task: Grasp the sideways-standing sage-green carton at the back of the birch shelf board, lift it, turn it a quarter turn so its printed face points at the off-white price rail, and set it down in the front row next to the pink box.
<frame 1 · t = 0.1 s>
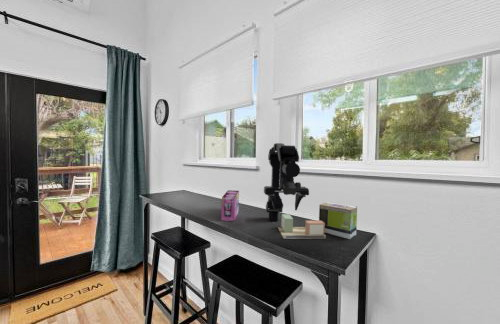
hand: (285, 210, 96), 15 cm above the table, fingers open, 9 cm apart
tea box: (336, 235, 108), on the table
gum box: (230, 215, 136), on the table
pink box: (314, 235, 102), point 1 cm above the table, touching shelf board
sage carton: (286, 229, 109), point 1 cm above the table, touching shelf board
shelf board: (299, 235, 106), on the table
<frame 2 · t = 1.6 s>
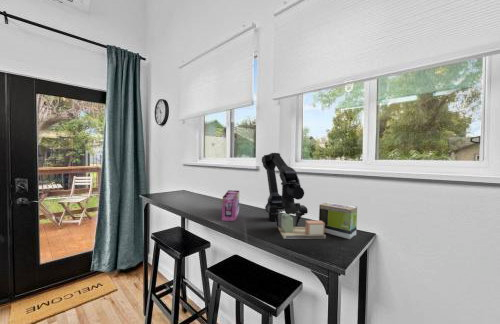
hand: (286, 226, 109), 3 cm above the table, fingers open, 9 cm apart
nothing on the table moved.
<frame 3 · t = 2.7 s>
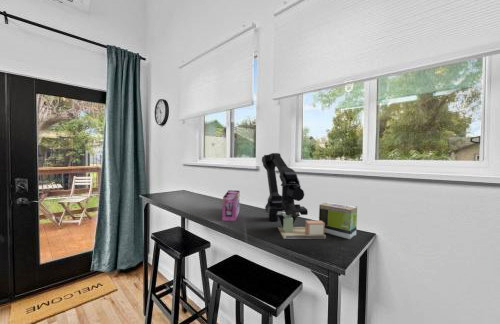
hand: (286, 227, 109), 2 cm above the table, fingers closed on sage carton, 4 cm apart
sage carton: (286, 229, 109), point 1 cm above the table, touching gripper, shelf board
everything else where it was.
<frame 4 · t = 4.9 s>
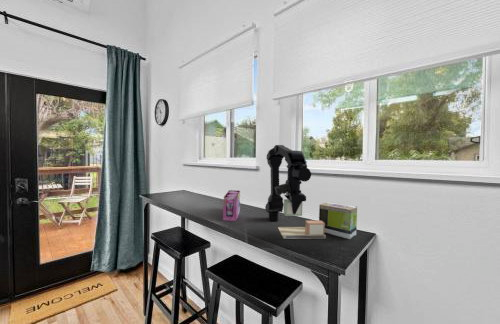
hand: (292, 212, 101), 12 cm above the table, fingers closed on sage carton, 4 cm apart
sage carton: (292, 214, 101), point 11 cm above the table, touching gripper
everything else where it was.
when the fingers open (4 cm above the table, at t = 7.1 s): sage carton drops 1 cm, resting on shelf board.
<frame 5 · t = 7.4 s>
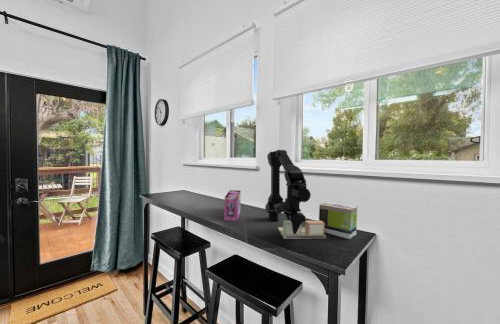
hand: (292, 230, 101), 4 cm above the table, fingers open, 7 cm apart
sage carton: (291, 235, 101), point 1 cm above the table, touching shelf board
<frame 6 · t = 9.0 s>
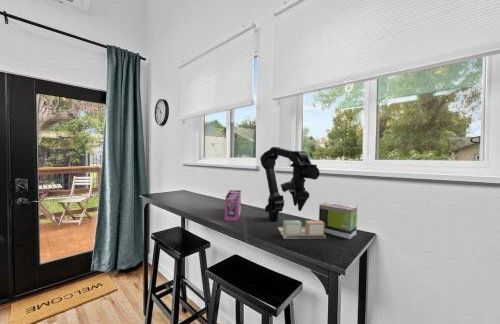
hand: (297, 208, 109), 12 cm above the table, fingers open, 9 cm apart
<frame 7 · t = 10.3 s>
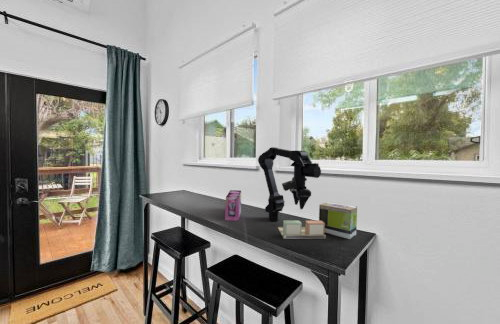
hand: (298, 206, 111), 13 cm above the table, fingers open, 9 cm apart
at the end: sage carton 0.6 cm from the target spot, point 1.5 cm above the table; sage carton tilted 0° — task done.
